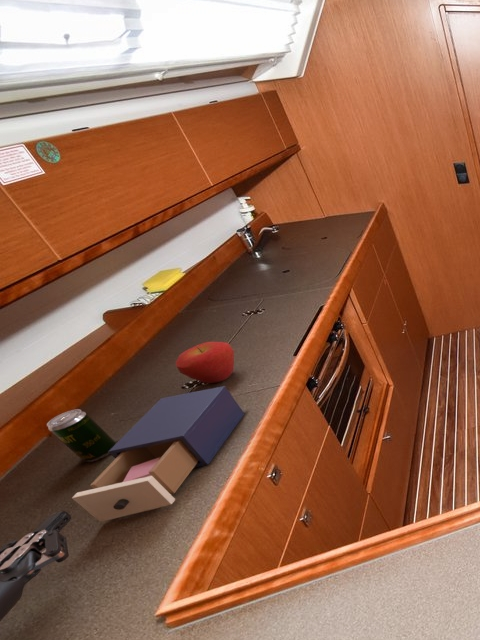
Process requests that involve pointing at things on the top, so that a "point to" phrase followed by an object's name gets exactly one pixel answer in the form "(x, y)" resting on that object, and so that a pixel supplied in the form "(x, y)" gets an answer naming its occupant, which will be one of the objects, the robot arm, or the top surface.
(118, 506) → the drawer
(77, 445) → the beer can
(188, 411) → the cabinet
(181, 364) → the apple
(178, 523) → the top surface
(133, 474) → the block
